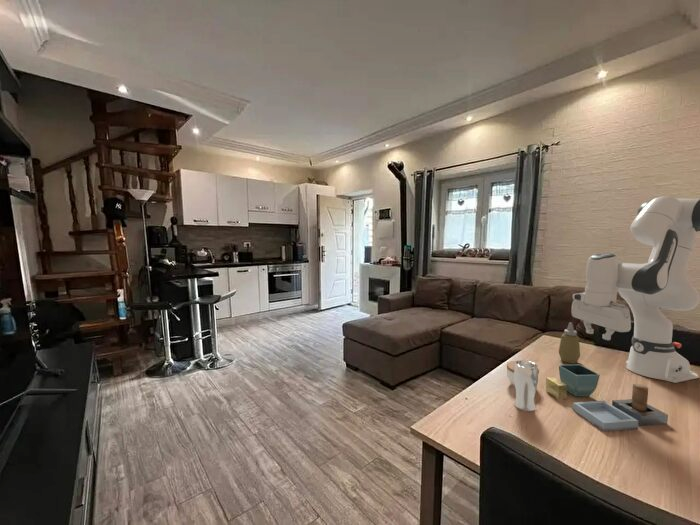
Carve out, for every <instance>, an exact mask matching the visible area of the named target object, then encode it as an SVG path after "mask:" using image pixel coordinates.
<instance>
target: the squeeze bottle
mask: <svg viewBox="0 0 700 525" xmlns="http://www.w3.org/2000/svg"><path fill="white" fill-rule="evenodd" d="M577 333H578V332H577V330H575V329H574V325H573V322H568V326H567V328H565V329H564V331H563V333H562V334H561V336H560V342H559V348H558V354H559V357H560V360H561V361H562V362H563V363H567V364H576V363H578V361H579V359H580V358H581V349H580V337H579V336H578V334H577Z"/></svg>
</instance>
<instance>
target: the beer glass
mask: <svg viewBox="0 0 700 525" xmlns="http://www.w3.org/2000/svg"><path fill="white" fill-rule="evenodd" d="M514 361H515V360H514ZM538 369H539V366H538V364H537V363H536V362H532V361H530V360H525V359H517V360H516V361H515V368H514V382H515V387H514V388H515V398H514V399H515V400H514V406H515V407H516V408H517V409H519V410H521V411H523V412H528V413H529V412H534V411H535V410H536V406H535V395H536V390H537V388H538V387H537V386H538V382H539V374H538Z"/></svg>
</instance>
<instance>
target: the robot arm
mask: <svg viewBox="0 0 700 525" xmlns="http://www.w3.org/2000/svg"><path fill="white" fill-rule="evenodd" d="M629 231H630V234H631V236H632V237H633V239H635V240H636V241H637V242H639V243H640V244H643V245H645V246H651V247H652V249H651V252H650V255H649V257H648V259H647V262H645V263H634V262H633V263H632V262H631V263H630V262H623V261H621V260H619V259H618V257H617V254H614V253H605V252H603V253H595V254H593V255H591V256H589V257H588V259H587V262H586V268H585V282H586V286H585V287H584V292H579V293H573V294H572V299H573V300H572V303H571V310H570V311H571V316H572V318H575V319H578V320H581V321H583V326H584V327H585V333H586V334H589V335H593V334H594V330H595V329H594V328H593V327H592V325H597V326H600V327H603V328H605V331H606V332H605V333H603V334H601V335H602V337H601V338H602V339H603V340H605V341H611V339H612V335H614V333H615V332H617V333H618V332H619V333H628V332H630V331H631V329H632V319H631V314H630V309H631V313H632V315H633V321H634V325H633V335H632V337H631V346H630V349H629V354H628V360H626V361H625V364H626V369H628V370H629V371H630V372H632V373H635V374H637V375H639V376H643V377H647V378H650V379H655V380H656V379H657V380H660V381H661V380H662V381H666V382H669V383H673V384H676V383H681V382H686V381H690V380H695V379H699V375H698V373H696V372H694V371H692V370H691V365H690V361H689V360H688V359H687V358H685V357H684V356H683V355H681V354H679V353H678V352H677V351H676V349H680V348H682V343H680V342H676V341H673V340H672V339H673V329H674V328H673V327H674V325H673V323H672V322H673V321H671V320H670V318H667V317H666V316H665V315H664V314H663V313H662V311H661V309H665V310H668V311H680V312H683V311H684V312H686V311H692V310H694V308H696V307H697V306H698V305H699V303H700V293H699V291H698V290H697V288H695V287H694V286H693V285H692V284H691V282H690V280H689V277H688V272H687V271H688V266H689V264H690V260H691V258H692V254H693V251H694V249H695V245H696V241H697V232H700V198H690V197H688V198H687V197H686V198H685V197H683V198H681V197H680V198H679V197H678V198H676V197H673V196H667V195H665V196H663V195H662V196H658V197H655V198H653V199H652V200H647V201H645V202H644V203H642V204H641V205H639V207H638V209H637V214H636V216H635V218H634V220H632V222H631V225H630V228H629ZM617 289H618V290H617ZM618 293H619V296H620V298H622V299H623V300H625V302H626V303H627V304H628V306H629V307H628V306H626V304H624V303H618V302H617V299H618V298H617V295H618Z"/></svg>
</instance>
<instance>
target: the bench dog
mask: <svg viewBox="0 0 700 525" xmlns="http://www.w3.org/2000/svg"><path fill="white" fill-rule="evenodd" d="M545 391H546V392H547V393H549V394H550V395H552V397H554V398H556V399H557V400H563V399H567V385H566V384H564V383H563V382H561V380H560V379H557V378H556V377H553V376H551V377H550V376H549V377H546V378H545Z"/></svg>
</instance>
